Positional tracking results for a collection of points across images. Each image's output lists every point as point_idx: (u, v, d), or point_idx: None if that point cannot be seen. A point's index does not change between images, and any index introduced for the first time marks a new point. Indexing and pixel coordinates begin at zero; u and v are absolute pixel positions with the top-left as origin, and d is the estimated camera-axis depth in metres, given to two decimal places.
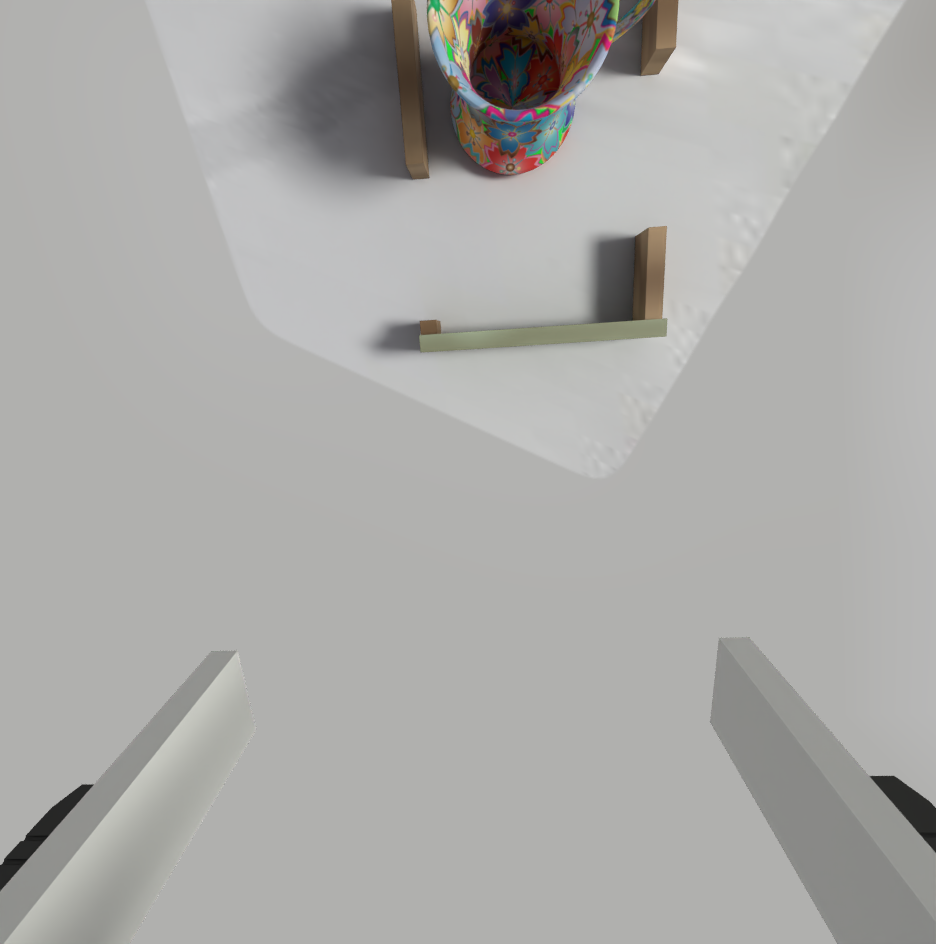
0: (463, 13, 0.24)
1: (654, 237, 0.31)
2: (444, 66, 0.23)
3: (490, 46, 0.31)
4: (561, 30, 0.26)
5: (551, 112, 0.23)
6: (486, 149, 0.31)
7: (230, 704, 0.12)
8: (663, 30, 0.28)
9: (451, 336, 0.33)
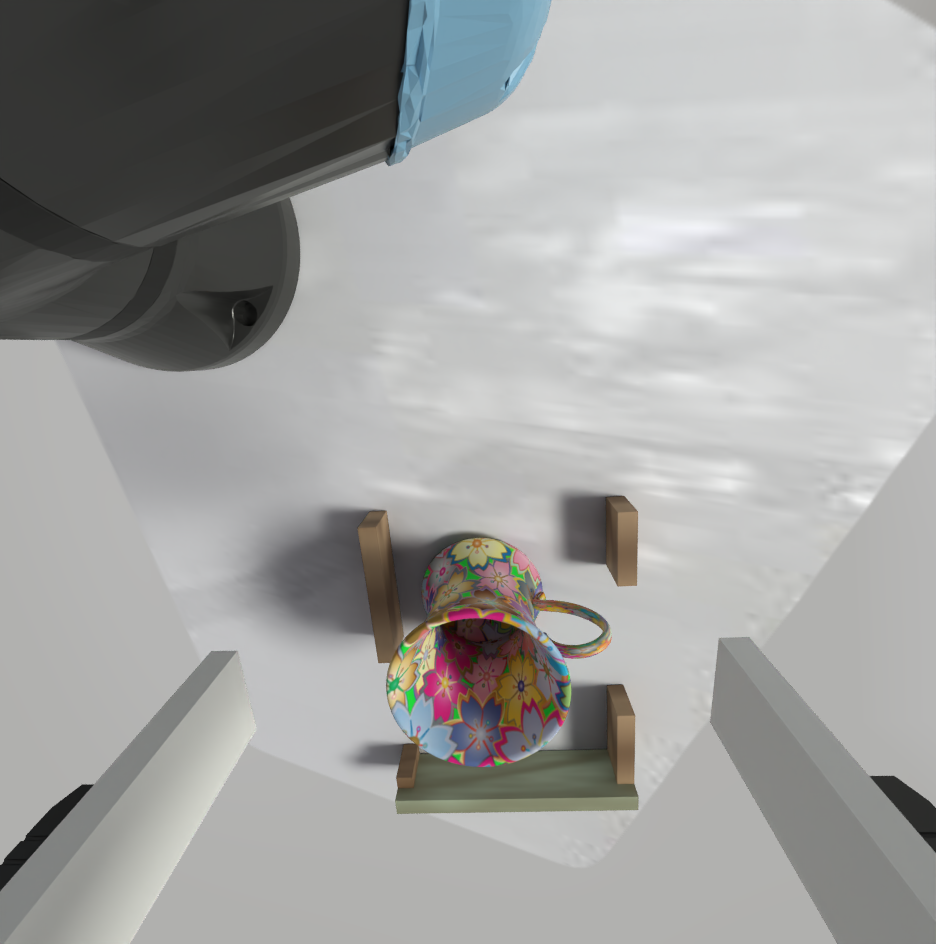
0: (424, 639, 0.25)
1: (623, 723, 0.32)
2: (404, 731, 0.24)
3: None
4: None
5: (509, 762, 0.24)
6: None
7: (230, 704, 0.12)
8: (624, 573, 0.29)
9: (427, 803, 0.33)
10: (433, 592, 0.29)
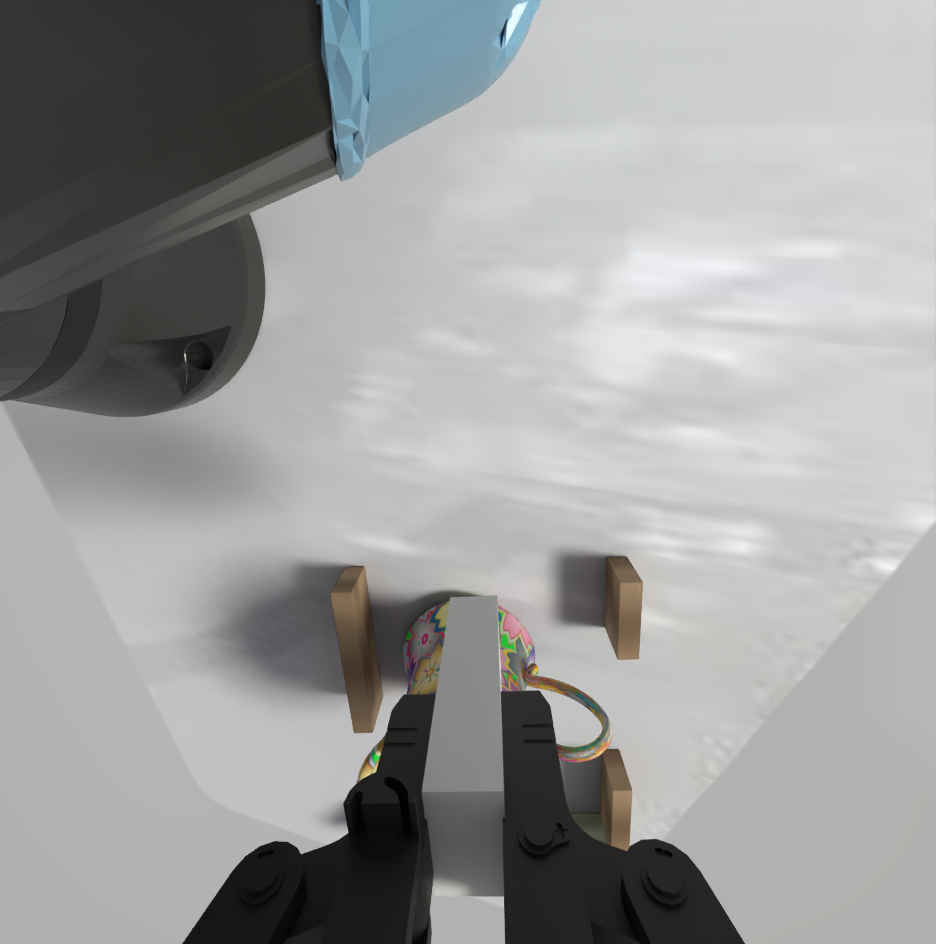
0: None
1: (619, 798, 0.30)
2: None
3: None
4: None
5: None
6: None
7: None
8: (625, 646, 0.26)
9: None
10: (414, 663, 0.27)
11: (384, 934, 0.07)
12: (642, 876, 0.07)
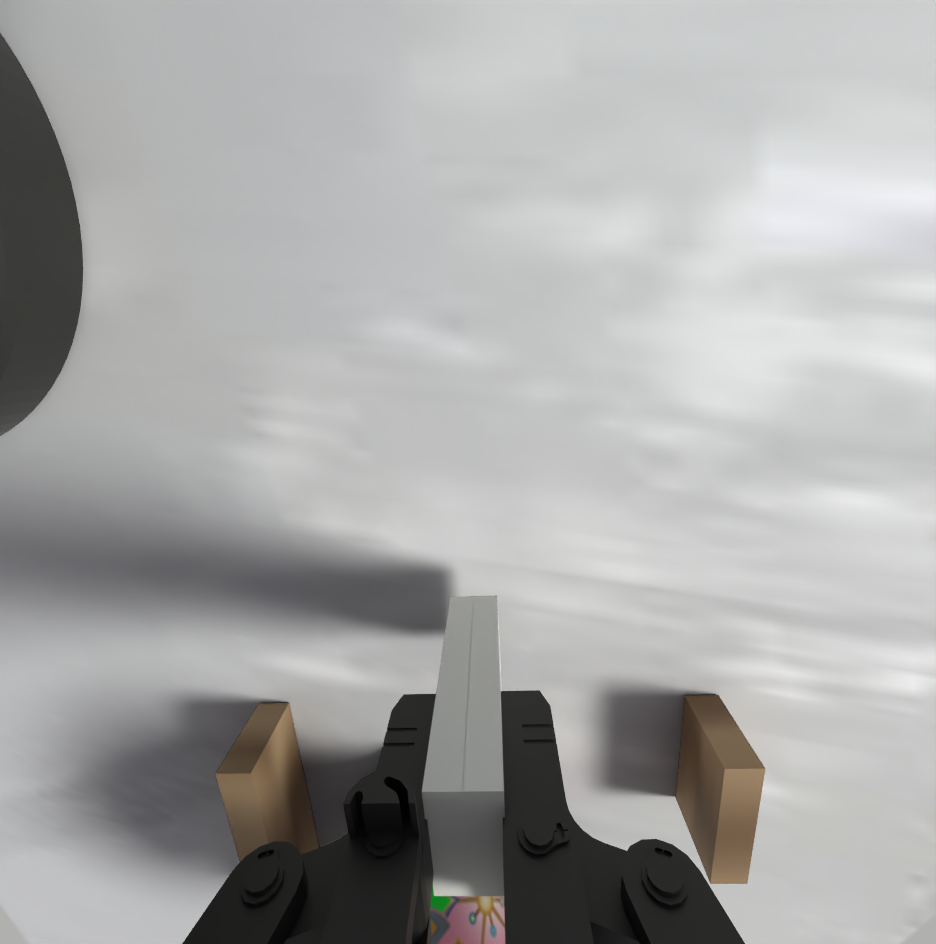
0: None
1: None
2: None
3: None
4: None
5: None
6: None
7: None
8: (725, 864, 0.15)
9: None
10: None
11: (384, 934, 0.07)
12: (642, 876, 0.07)
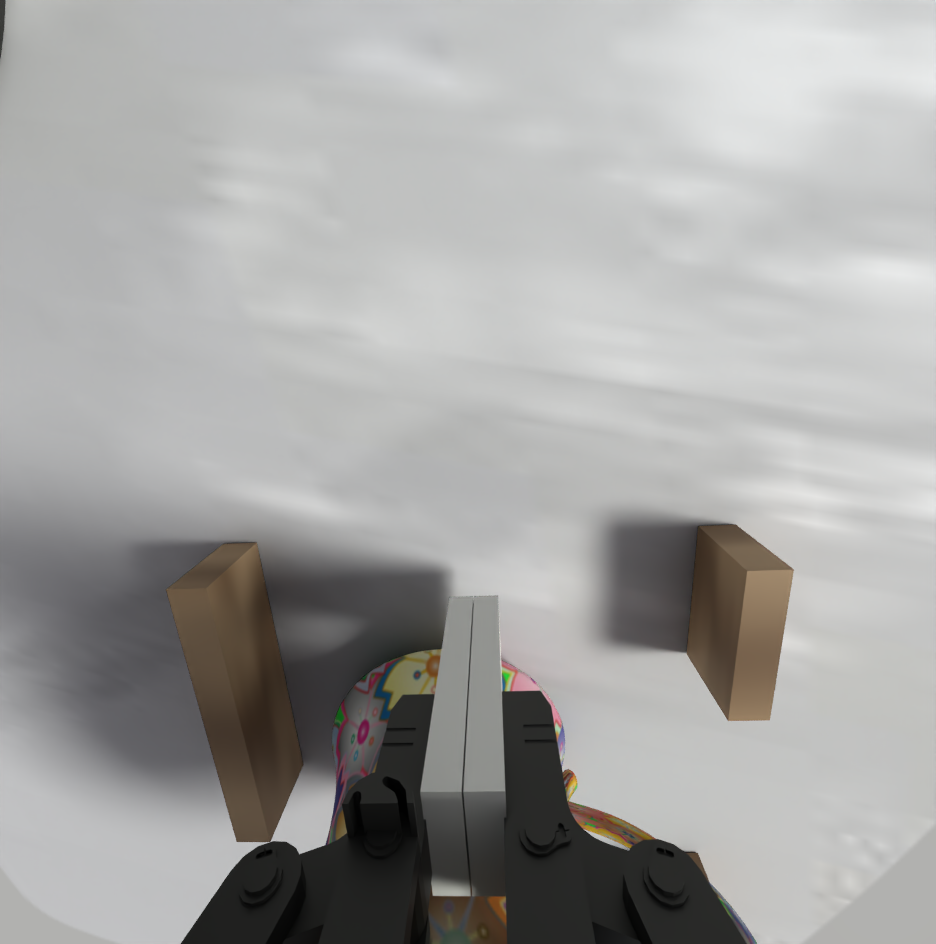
0: None
1: None
2: None
3: None
4: None
5: None
6: None
7: None
8: (745, 695, 0.13)
9: None
10: (341, 784, 0.14)
11: (382, 934, 0.07)
12: (644, 876, 0.07)
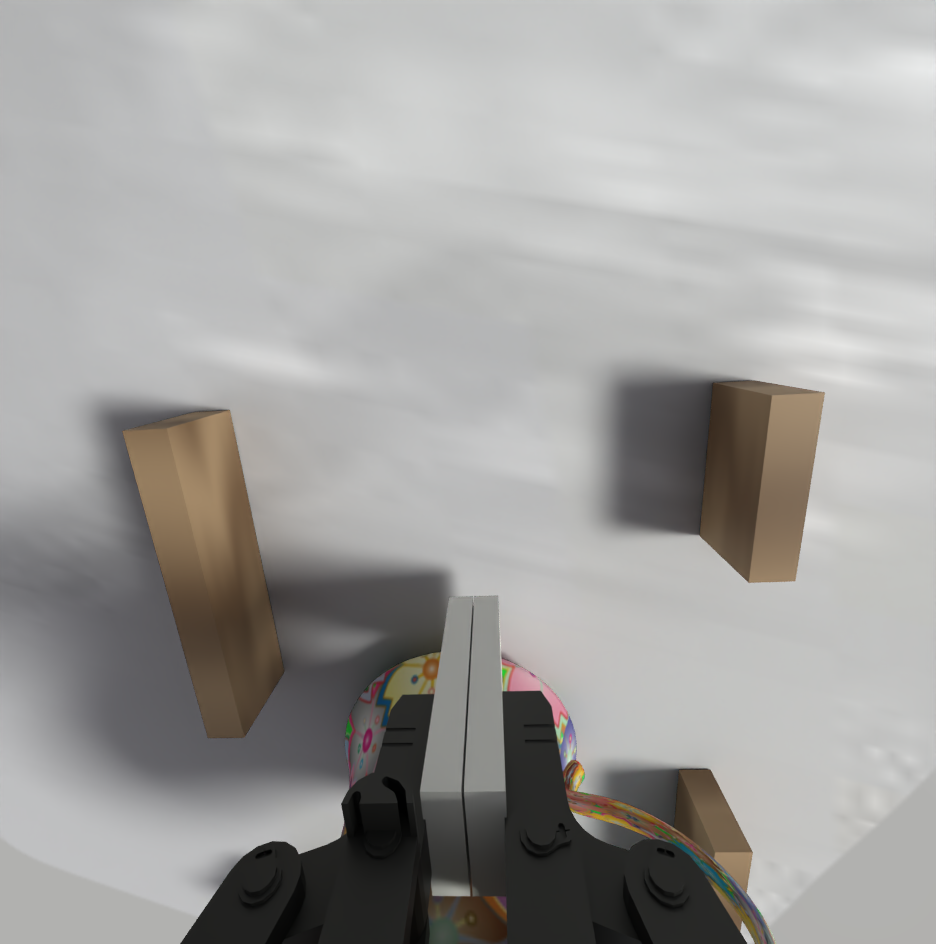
0: None
1: (726, 866, 0.15)
2: None
3: None
4: None
5: None
6: None
7: None
8: (768, 551, 0.12)
9: None
10: None
11: (382, 934, 0.07)
12: (644, 876, 0.07)
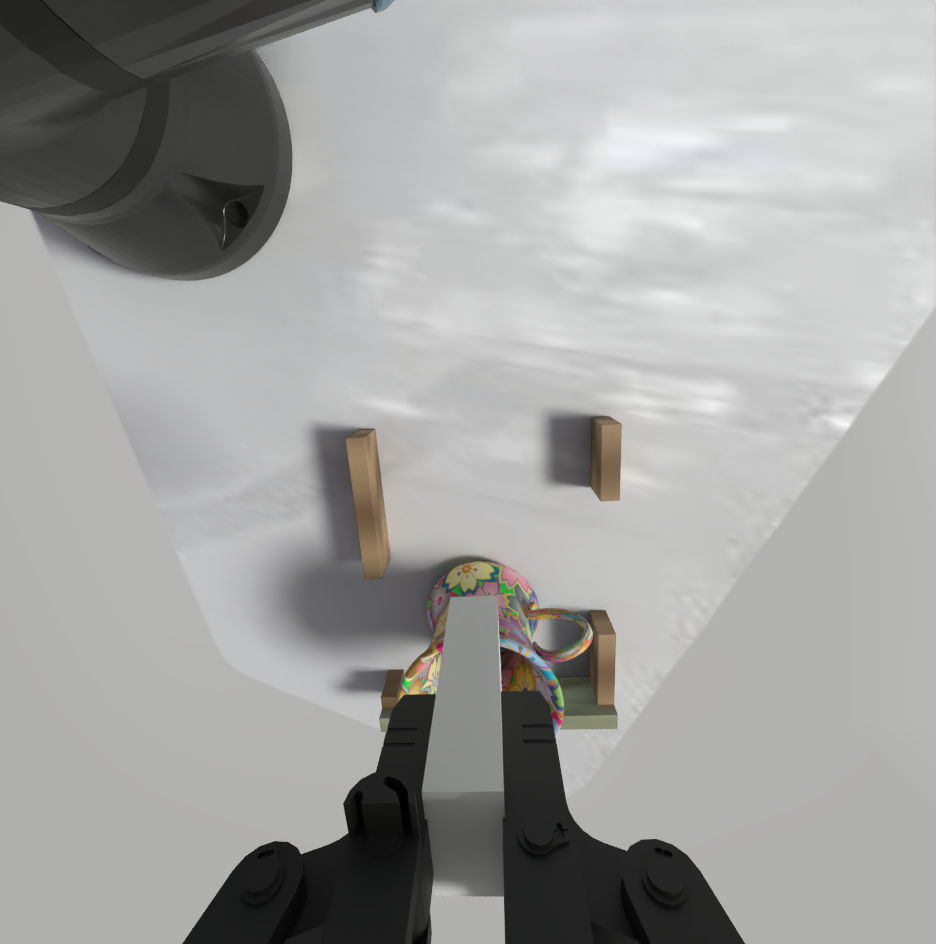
0: (428, 668, 0.28)
1: (604, 642, 0.33)
2: None
3: None
4: None
5: None
6: None
7: None
8: (607, 487, 0.30)
9: None
10: (434, 621, 0.32)
11: (384, 934, 0.07)
12: (642, 876, 0.07)
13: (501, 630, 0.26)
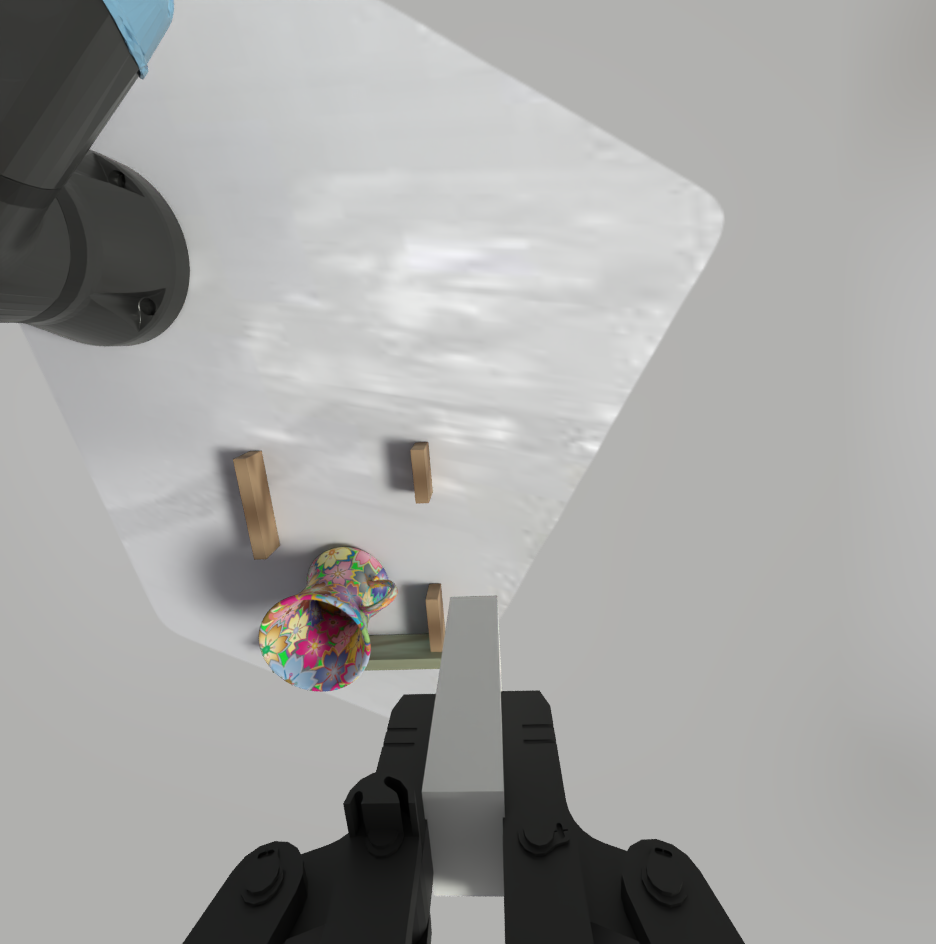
0: (288, 620, 0.40)
1: (430, 605, 0.45)
2: (280, 677, 0.39)
3: None
4: None
5: (348, 684, 0.39)
6: None
7: None
8: (419, 493, 0.42)
9: None
10: None
11: (384, 934, 0.07)
12: (642, 876, 0.07)
13: (331, 592, 0.39)
